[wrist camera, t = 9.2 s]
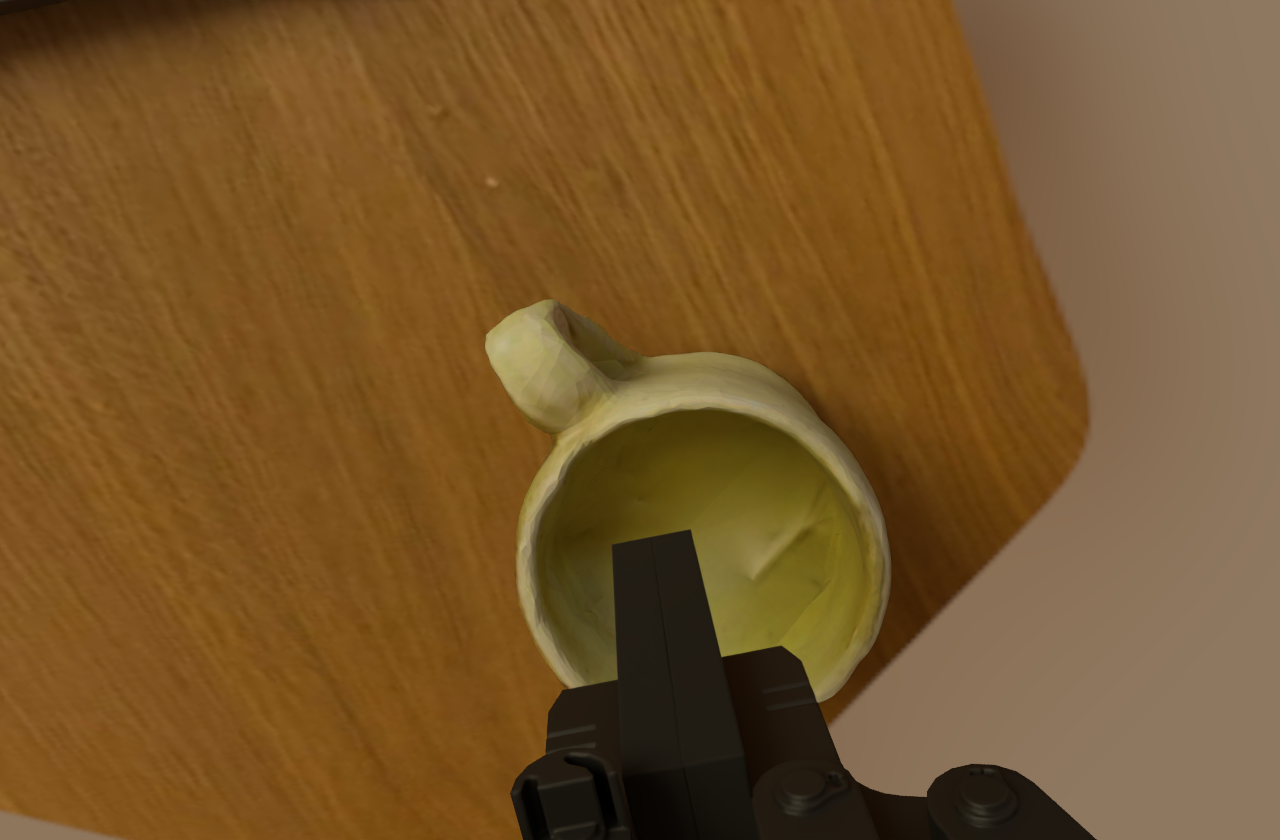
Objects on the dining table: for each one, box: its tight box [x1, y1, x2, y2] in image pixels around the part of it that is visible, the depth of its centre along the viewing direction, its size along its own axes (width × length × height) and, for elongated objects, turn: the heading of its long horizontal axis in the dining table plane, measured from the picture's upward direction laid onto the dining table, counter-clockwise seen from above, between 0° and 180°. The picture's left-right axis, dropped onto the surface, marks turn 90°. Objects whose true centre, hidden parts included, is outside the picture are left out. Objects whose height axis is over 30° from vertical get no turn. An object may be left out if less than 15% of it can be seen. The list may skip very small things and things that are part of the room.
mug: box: [485, 299, 892, 703], centre depth 26 cm, size 12×10×10 cm
